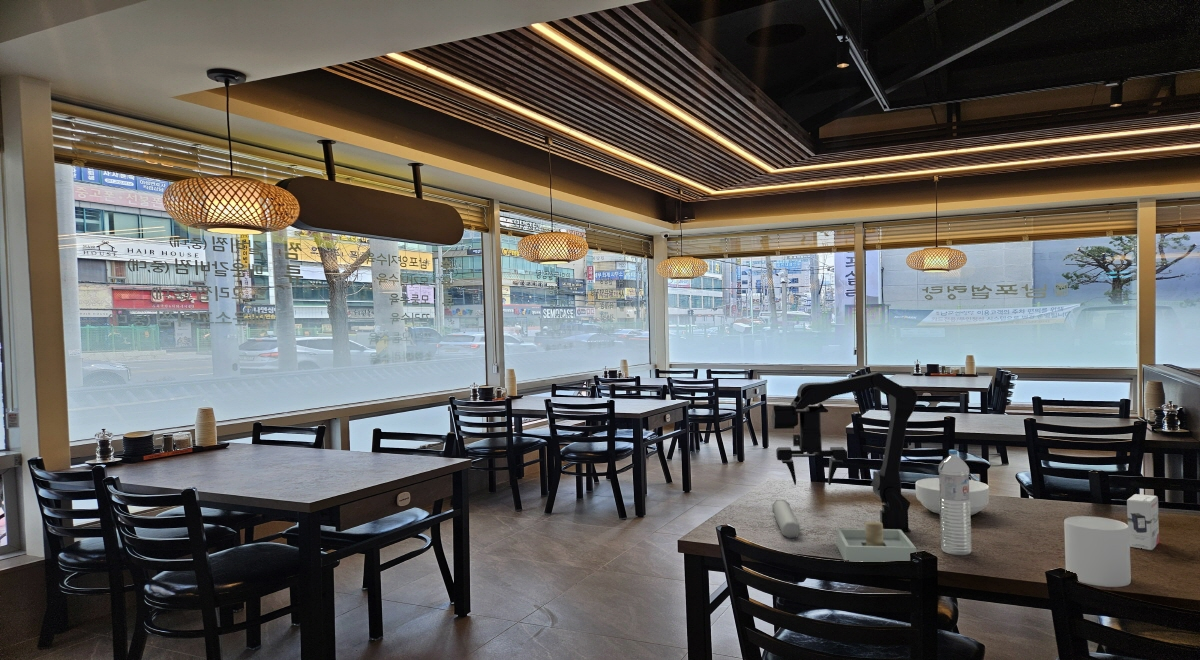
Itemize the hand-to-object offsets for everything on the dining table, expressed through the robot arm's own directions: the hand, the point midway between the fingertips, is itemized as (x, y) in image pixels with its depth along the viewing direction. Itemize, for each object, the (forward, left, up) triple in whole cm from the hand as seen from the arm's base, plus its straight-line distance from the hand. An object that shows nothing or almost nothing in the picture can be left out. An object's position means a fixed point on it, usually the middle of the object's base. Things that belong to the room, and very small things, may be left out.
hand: (812, 484), depth 204 cm
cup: (-56, +35, -13) cm, 67 cm away
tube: (+7, -3, -13) cm, 15 cm away
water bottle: (-32, +18, -13) cm, 39 cm away
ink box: (-78, +9, -13) cm, 80 cm away
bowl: (-42, -21, -13) cm, 49 cm away
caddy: (-12, +23, -12) cm, 29 cm away
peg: (-12, +23, -12) cm, 29 cm away
